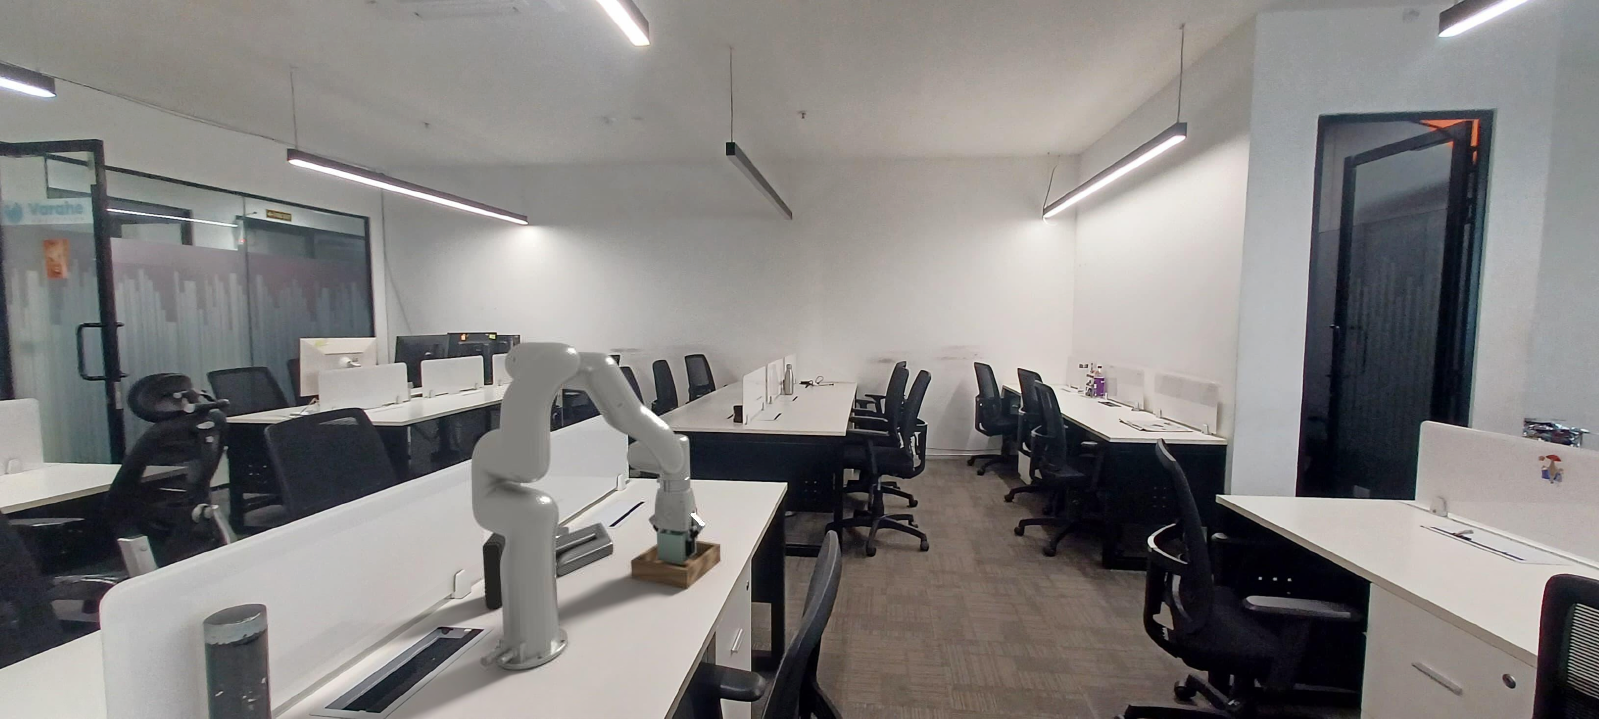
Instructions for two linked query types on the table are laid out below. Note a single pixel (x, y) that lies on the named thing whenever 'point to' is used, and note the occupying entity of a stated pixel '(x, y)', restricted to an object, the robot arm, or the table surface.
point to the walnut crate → (676, 566)
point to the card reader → (493, 570)
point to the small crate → (672, 546)
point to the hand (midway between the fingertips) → (677, 551)
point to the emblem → (581, 547)
